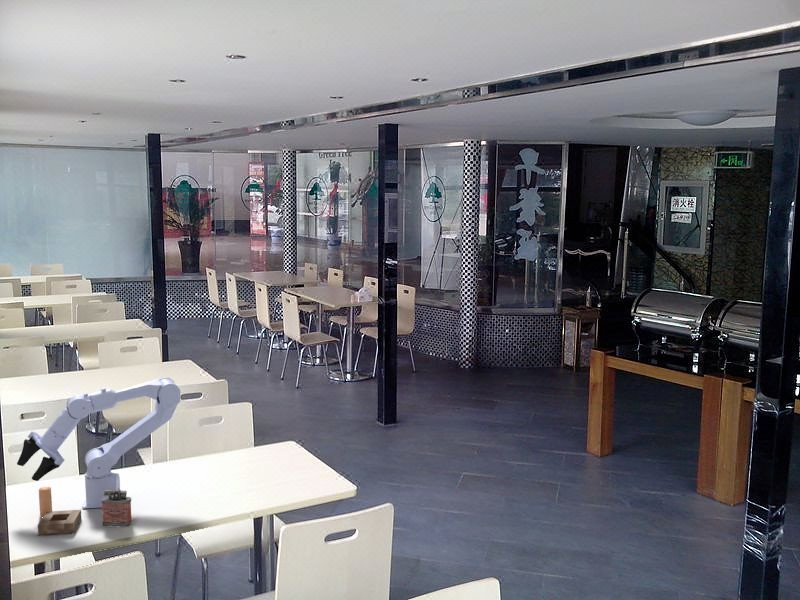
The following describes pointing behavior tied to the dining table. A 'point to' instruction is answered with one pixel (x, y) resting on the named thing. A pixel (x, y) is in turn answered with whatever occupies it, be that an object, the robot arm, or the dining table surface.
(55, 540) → the dining table surface
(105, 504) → the lighter
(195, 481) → the dining table surface
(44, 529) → the hole block
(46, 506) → the pin
